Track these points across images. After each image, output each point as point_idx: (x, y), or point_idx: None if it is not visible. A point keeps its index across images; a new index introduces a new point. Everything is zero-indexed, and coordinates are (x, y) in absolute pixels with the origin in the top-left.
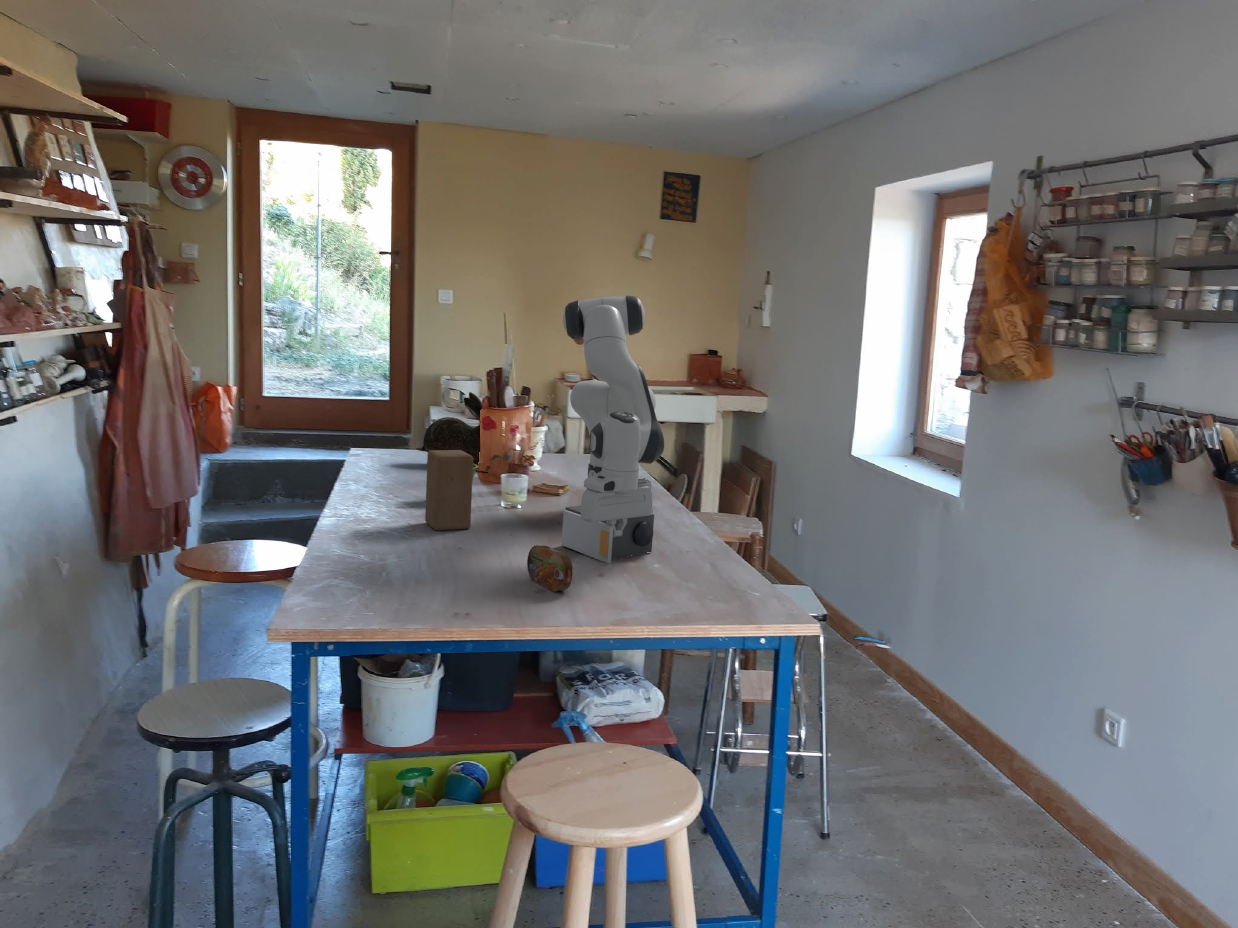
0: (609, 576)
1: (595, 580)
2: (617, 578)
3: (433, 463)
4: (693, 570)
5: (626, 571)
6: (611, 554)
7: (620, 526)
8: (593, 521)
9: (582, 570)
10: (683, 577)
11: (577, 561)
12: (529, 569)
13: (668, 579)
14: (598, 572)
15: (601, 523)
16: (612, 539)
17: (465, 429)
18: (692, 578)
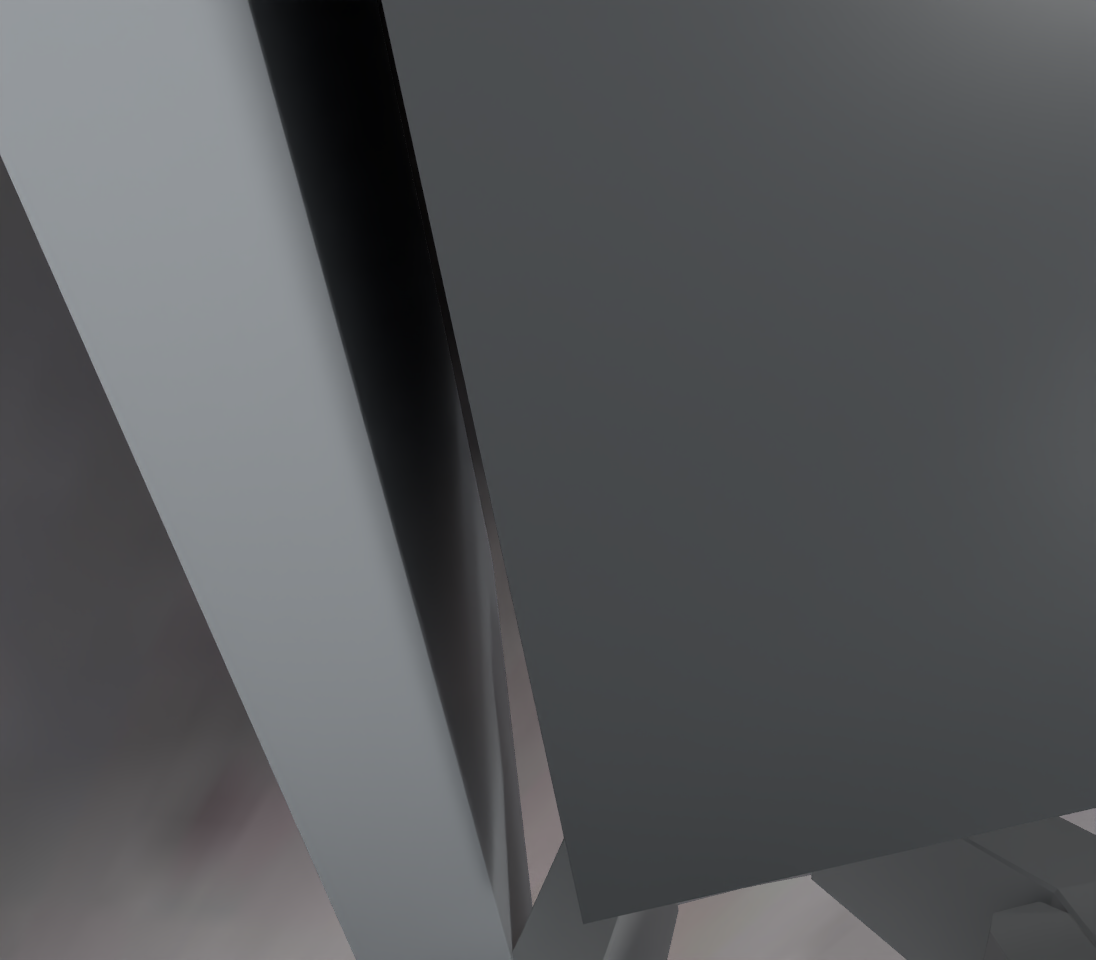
0: (277, 854)
1: (89, 921)
2: (327, 902)
3: None
4: (1074, 822)
5: (523, 764)
6: (499, 624)
7: (886, 889)
8: None
9: (42, 664)
10: (859, 933)
11: None
12: None
13: (721, 955)
14: (214, 748)
15: (339, 915)
16: (520, 805)
17: None
18: (897, 954)
